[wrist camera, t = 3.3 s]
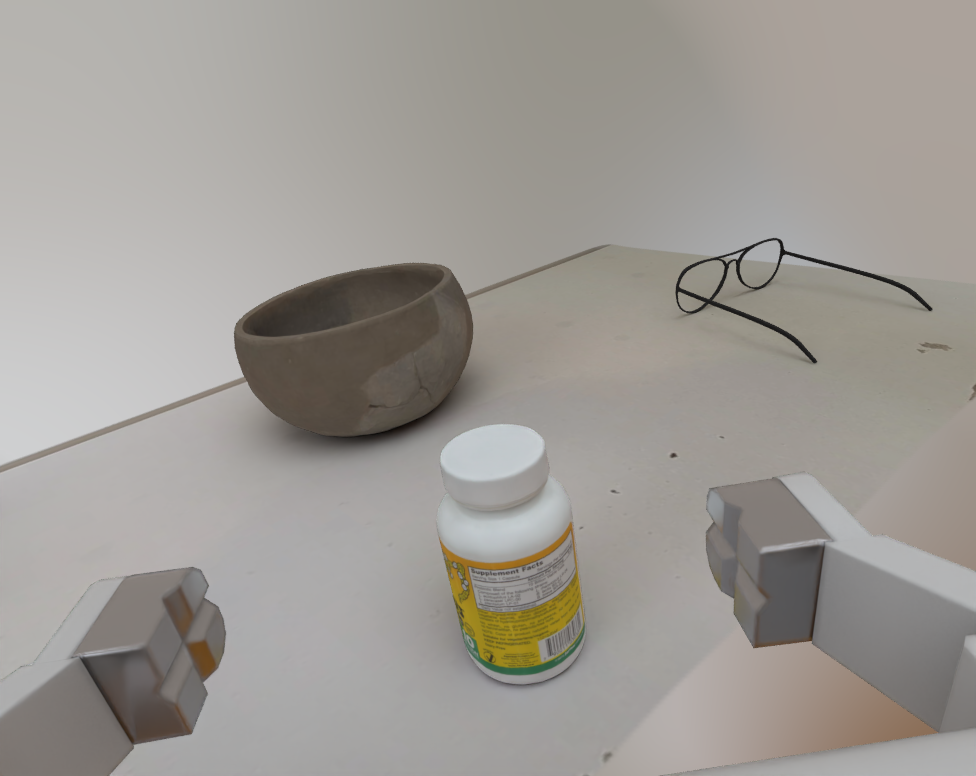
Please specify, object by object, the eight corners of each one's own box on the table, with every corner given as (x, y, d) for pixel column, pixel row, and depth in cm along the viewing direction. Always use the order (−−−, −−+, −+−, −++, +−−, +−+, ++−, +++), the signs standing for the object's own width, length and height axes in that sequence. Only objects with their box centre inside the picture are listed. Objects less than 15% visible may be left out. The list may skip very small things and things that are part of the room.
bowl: (229, 435, 50) (184, 320, 46) (390, 353, 62) (366, 255, 57) (358, 494, 39) (314, 350, 35) (525, 381, 50) (508, 262, 46)
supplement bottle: (588, 689, 24) (563, 487, 20) (456, 690, 25) (405, 497, 21) (586, 588, 29) (564, 409, 25) (474, 592, 30) (436, 420, 26)
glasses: (777, 280, 63) (784, 232, 60) (927, 329, 51) (943, 272, 49) (671, 319, 58) (674, 269, 55) (810, 383, 46) (822, 323, 43)
